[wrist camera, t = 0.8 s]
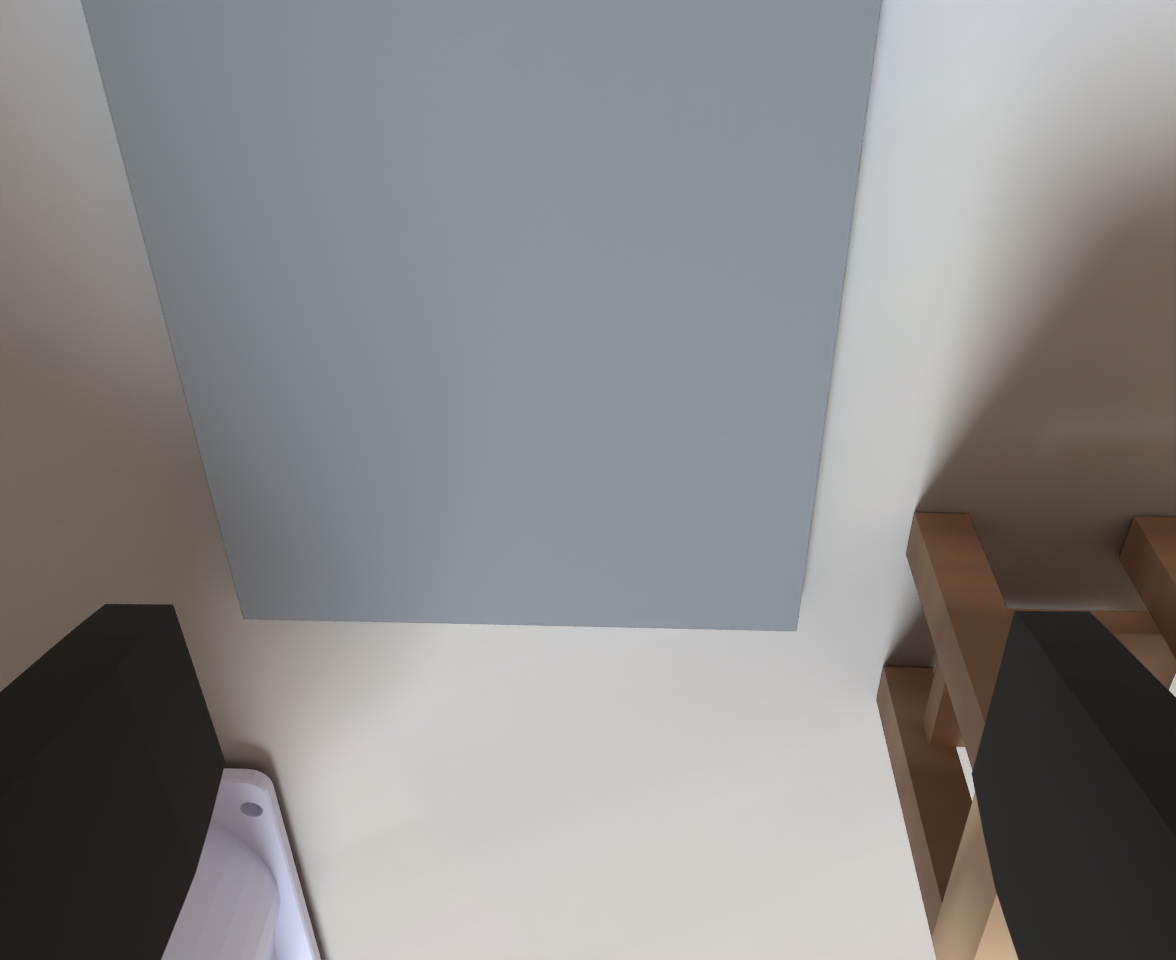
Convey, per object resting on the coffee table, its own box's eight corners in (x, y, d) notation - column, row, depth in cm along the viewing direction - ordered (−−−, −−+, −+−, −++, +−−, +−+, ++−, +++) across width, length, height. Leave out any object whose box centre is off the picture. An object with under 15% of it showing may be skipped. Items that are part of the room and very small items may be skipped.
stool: (1115, 706, 23) (1272, 1036, 17) (876, 700, 23) (951, 1024, 17) (1188, 517, 20) (1406, 839, 14) (914, 512, 20) (1020, 826, 14)
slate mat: (793, 610, 22) (796, 631, 21) (252, 598, 22) (243, 618, 22) (901, -222, 14) (911, -219, 13) (47, -211, 14) (27, -209, 14)
